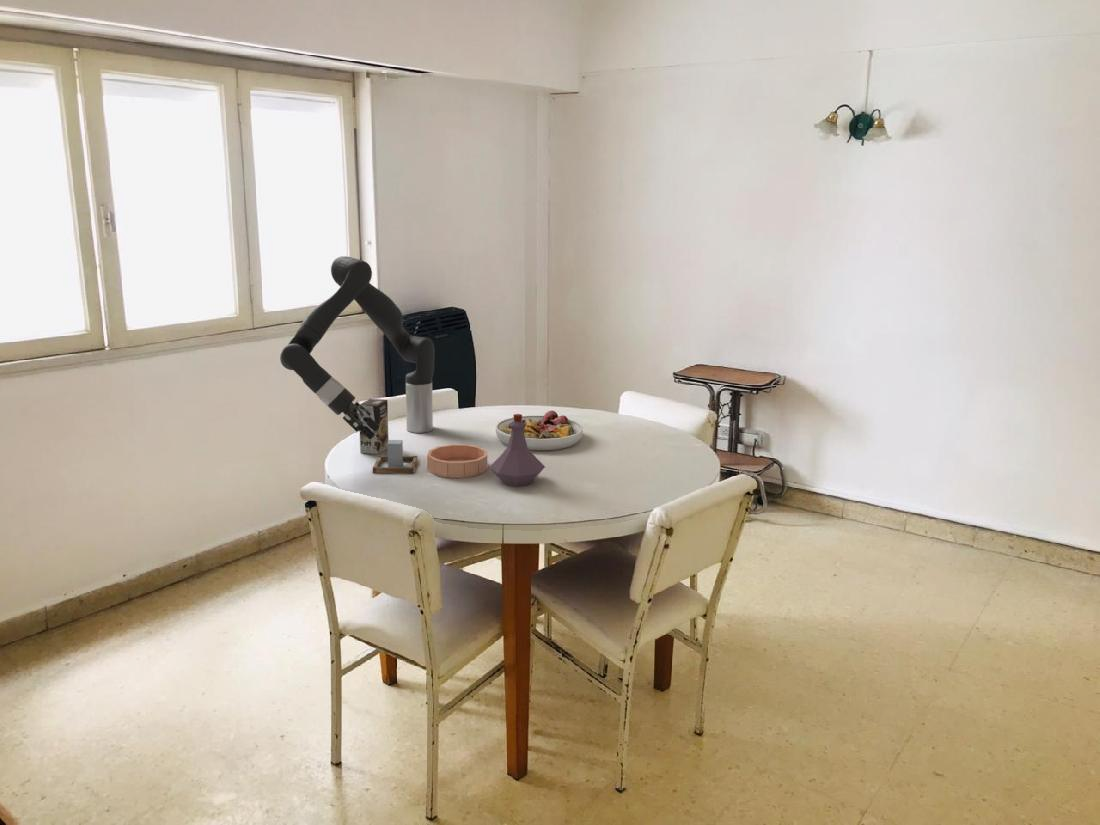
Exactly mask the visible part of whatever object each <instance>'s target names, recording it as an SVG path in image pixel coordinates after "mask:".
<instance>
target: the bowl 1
mask: <svg viewBox="0 0 1100 825" xmlns="http://www.w3.org/2000/svg"><path fill="white" fill-rule="evenodd" d="M488 452H489V451H488V450H486V449H484V448H483V447H481V446H477V445H472V444H454V443H453V444H447V445H446V444H445V445H440V446H436V447H434V448H432V449H430V450H428V452H427V455H426V456H427V458H426V459H427V470H428V472H429V473H431V474H432V475H434V476H438V477H442V478H446V479H447V478H448V479H449V478H451V479H465V478H473V477H476V476H479V475H482V474H484V473H486V472H487V471H488V463H489V462H488V457H489V456H488V454H489V453H488Z"/></svg>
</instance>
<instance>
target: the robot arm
mask: <svg viewBox="0 0 1100 825" xmlns="http://www.w3.org/2000/svg"><path fill="white" fill-rule="evenodd" d="M330 274H331V277H332V279H333V281H334V282H335V284H337V285H338V286H339V288H338V289H337V290H336V292H334V293H333V294H332V295H331V296H330V297H328V298H327V299H326V300H324V301H322V302H321V303H319V304H318V305H317V306H316V307H314V308H313V309H312V310H311V311H310V312H309V314H308V315H307V316H306V317H305V319H304V320H303V321H302V323H301V324H300V325H299V327H298V329H297V331H296V333H295V334H294V336H293V338H291V340H290V341H289V343H287V345H285V346H284V348H283V349H282V350H281V353H280V358H279V359H280V360H279V361H280V364H281V365H282V366H283V367H284V368H285V369H287V370H289V371H293V372H294V373H295V374H296V375H298V376H299V377H300V378H301V380H302V382H303V384H305V385H306V387H308V389H310V390H311V392H313V393H314V394H315V395H316V396H317V397H318V398H319V400H321V402H323V404H324V405H326V406H327V407H328V409H330V410H331V411H332V412H333V413H334V414H335V415H337V416H339V415H342V413H343V415H344V416H343V417H342V419H343V420H344V422H346V423H347V424H348V425H349V426H350V427H351V428H352V429H354V431H355V432H357V433H358V432H360V431H361V432H362V433H363V434H364V435H365V436H366V437H367V438H369V439H372V438H373V437H374V436H375V433H374V432H373V431H377V430H378V429H379V427H380V426H379V425H378V424H377V423H376V422H375V421H374V420H373V419H372V418H371V416H370V415H371V414H370V413H369V412H368V411H367V410H366V409H365V408H364V407H363V406H362V405H360V404H361V403H360V402H358V401H356V402H354V401H355V400H356V396H355V395H353V394H352V392H350V391H349V390H348V389H347V388H346V387H345V386H344V385H343V384H342V383H341V382H339V381H338V380H337V379H336V378H335V377H333V376H332V374H330V373H329V372H328V371H327V370H325V369H324V368H323V367H322V366H321V365H320V363H318V362H317V361H316V359H315V358H314V357H313V356H312V355H311V353H312V351H313V349H314V348H315V347H316V345H318V343H320V341H321V340H322V339H323V337H324V336H325V334H326V333H327V332H328V330H329V329H330V327H331V326H332V324H333V323H334V322H335V321H336V320H337V319H338V317H339V316H340V315H341V314H342V313H343V311H345V309H346V308H347V307H348V306H349V305H351V303H352V302H354V301H355V302H356V303H357V305H358V307H360V308H361V310H363V312H364V313H366V315H367V316H368V317H369V319H370V320H371V321H372V322H373V324H375V326H376V327H378V329H379V330H380V331H381V332H382V333H383V334H384V335H385V337H386V338H387V339H388V340H389V341H390V344H392V346H393V347H394V348H395V350H396V351H397V353H398V355H399V356H400V357H401V358H402V359H403V360H404V361H405V362H407V363H413V364H416V365H415V370H414V371H411V372H408V373H407V374H405V410H406V411H405V412H406V414H405V415H406V416H405V417H406V420H405V421H406V431H408V432H410V433H415V434H418V433H419V434H422V433H423V434H424V433H429V432H431V431H433V429H434V424H433V423H434V421H433V419H434V417H433V416H434V414H433V412H434V410H433V408H434V406H433V377H434V374H435V356H436V355H435V353H436V351H435V345H434V342H433V341H432V339H431V338H429V337H423V336H415V335H412V334H410V333H409V332H408V331H407V330H406V329H405V328H404V326H403V325H404V317H403V313H402V311H401V310H400V308H399V307H398V306H397V304H396V303H395V302H394V300H392V298H390V297H389V295H387V294H386V293H384V292H383V291H381V290H380V289H379V288H378V287H376V286H374V285H373V284H371V283H370V282H371V279H372V277H373V271H372V266H371V265H370V264H369V263H368V262H366V261H364V260H362V259H359V258H354V257H352V256H345V255H344V256H339V257H337V258H335V259H334V260H333V261H332V263H331V266H330ZM353 402H354V403H353ZM364 422H365V423H366V422H367V423H366V424H367V425H368V426H369V427H370V428H371V429H372V430H373V431H371V430H370V429H369V428H368V427H367V426H366V425H365V423H364Z"/></svg>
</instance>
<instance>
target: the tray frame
mask: <svg viewBox="0 0 1100 825" xmlns="http://www.w3.org/2000/svg"><path fill="white" fill-rule="evenodd" d="M418 459H419V458H418V455H403V463H404V462H408V463H409V462H411V464H410V466H409V467H406V466H405V467H403V466H402V467H388V466H382V467H381V466H380V465H381V464H382V462H388V455H378V457H377V459H376V461H375V462H374V465H373V467H372V474H414V472H415V470H416V468H417V467H416V466H417V464H418V461H419V460H418Z"/></svg>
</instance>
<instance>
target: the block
mask: <svg viewBox="0 0 1100 825" xmlns="http://www.w3.org/2000/svg"><path fill="white" fill-rule="evenodd" d="M403 448H404V446H403V439H389V442H388V444H387V456H388V461H387V467H403V466H404V462H403V456H404V449H403Z"/></svg>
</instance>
